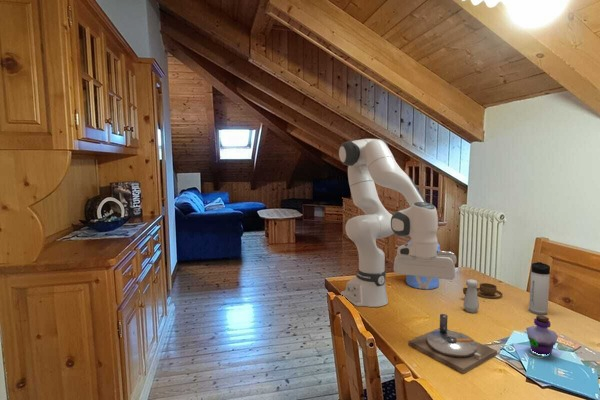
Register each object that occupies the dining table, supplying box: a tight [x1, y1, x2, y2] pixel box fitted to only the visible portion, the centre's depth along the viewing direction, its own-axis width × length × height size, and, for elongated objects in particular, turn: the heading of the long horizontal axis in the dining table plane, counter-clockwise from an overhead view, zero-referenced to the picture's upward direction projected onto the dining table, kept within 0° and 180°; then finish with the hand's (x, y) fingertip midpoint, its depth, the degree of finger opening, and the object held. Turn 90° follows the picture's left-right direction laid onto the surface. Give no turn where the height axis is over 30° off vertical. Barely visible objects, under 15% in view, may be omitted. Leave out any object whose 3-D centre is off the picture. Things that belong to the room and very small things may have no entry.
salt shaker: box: [463, 278, 480, 314], centre depth 146 cm, size 6×6×13 cm
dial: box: [427, 313, 477, 357], centre depth 116 cm, size 15×15×7 cm
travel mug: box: [528, 261, 551, 316], centre depth 144 cm, size 6×7×20 cm
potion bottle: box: [525, 314, 559, 355], centre depth 114 cm, size 9×9×12 cm
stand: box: [408, 327, 498, 375], centre depth 117 cm, size 20×18×3 cm
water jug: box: [405, 240, 441, 290], centre depth 178 cm, size 16×16×28 cm
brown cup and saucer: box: [462, 282, 503, 302], centre depth 164 cm, size 18×20×6 cm
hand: (423, 288), depth 124 cm, fingers closed
